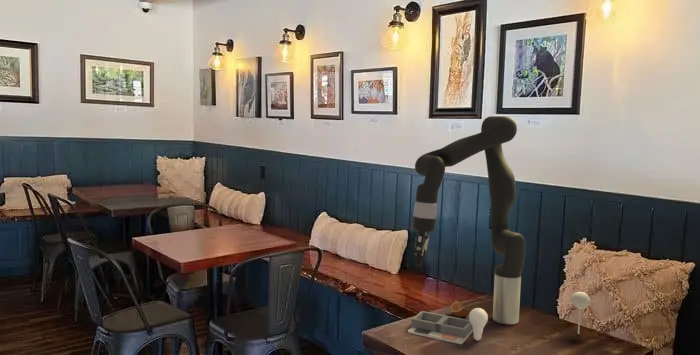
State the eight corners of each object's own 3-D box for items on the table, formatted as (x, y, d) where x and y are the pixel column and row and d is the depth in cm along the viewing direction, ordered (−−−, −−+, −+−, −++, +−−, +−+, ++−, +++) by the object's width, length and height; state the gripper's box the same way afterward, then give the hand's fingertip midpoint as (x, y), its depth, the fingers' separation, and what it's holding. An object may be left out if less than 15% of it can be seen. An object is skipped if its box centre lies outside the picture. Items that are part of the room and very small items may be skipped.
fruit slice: (471, 320, 200) (472, 307, 200) (454, 320, 199) (454, 307, 199) (464, 312, 208) (464, 299, 208) (447, 312, 207) (447, 300, 207)
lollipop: (587, 332, 191) (590, 290, 189) (588, 338, 185) (591, 295, 183) (568, 329, 193) (571, 288, 191) (569, 335, 187) (572, 293, 185)
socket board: (421, 320, 198) (421, 310, 198) (472, 331, 189) (473, 320, 189) (407, 332, 187) (408, 322, 186) (461, 344, 178) (462, 333, 177)
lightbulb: (487, 345, 178) (488, 312, 177) (468, 343, 179) (469, 310, 178) (486, 337, 184) (487, 306, 183) (467, 336, 185) (469, 304, 184)
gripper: (433, 219, 171) (428, 270, 173) (438, 215, 185) (433, 261, 186) (410, 216, 173) (405, 266, 174) (416, 212, 187) (411, 258, 188)
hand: (419, 264), depth 180 cm, fingers open, 8 cm apart
